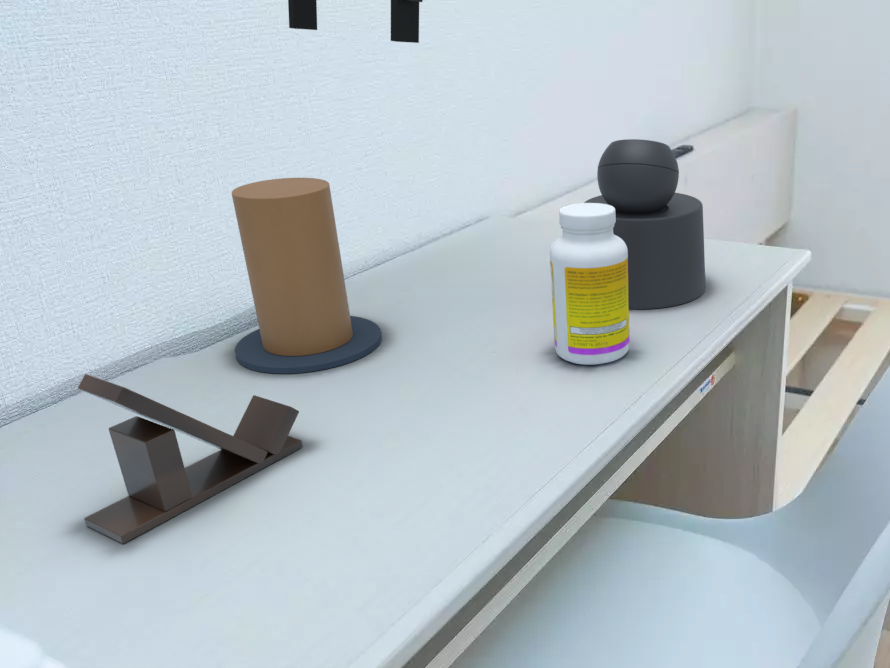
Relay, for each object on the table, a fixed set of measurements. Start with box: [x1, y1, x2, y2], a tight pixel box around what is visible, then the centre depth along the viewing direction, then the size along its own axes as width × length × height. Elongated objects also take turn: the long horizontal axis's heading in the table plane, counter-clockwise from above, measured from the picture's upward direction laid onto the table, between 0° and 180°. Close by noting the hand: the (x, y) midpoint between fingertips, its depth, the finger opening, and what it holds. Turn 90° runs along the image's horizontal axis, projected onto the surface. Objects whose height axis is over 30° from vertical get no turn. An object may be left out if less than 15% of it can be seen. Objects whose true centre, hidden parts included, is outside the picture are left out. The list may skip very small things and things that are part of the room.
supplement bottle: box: [549, 202, 630, 366], centre depth 77 cm, size 7×7×13 cm
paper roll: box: [231, 177, 353, 356], centre depth 79 cm, size 8×16×16 cm
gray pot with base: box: [583, 138, 707, 310], centre depth 92 cm, size 13×16×14 cm
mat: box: [234, 315, 383, 375], centre depth 83 cm, size 13×13×1 cm
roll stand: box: [77, 373, 303, 545], centre depth 59 cm, size 4×14×9 cm, turn 148°
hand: (352, 35), depth 83 cm, fingers open, 13 cm apart
